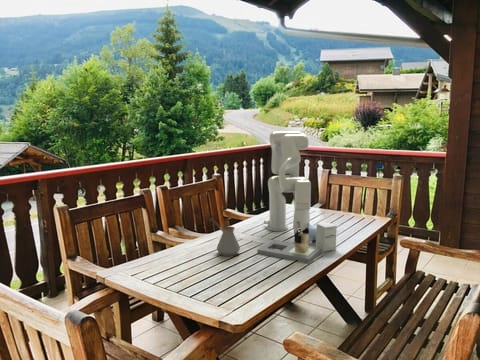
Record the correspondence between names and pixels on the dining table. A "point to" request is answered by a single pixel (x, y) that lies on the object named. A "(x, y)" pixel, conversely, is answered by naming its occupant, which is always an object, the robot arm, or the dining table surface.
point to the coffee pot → (227, 241)
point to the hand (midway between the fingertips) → (301, 240)
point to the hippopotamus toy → (312, 233)
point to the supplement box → (326, 236)
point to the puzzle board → (288, 251)
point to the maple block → (302, 243)
